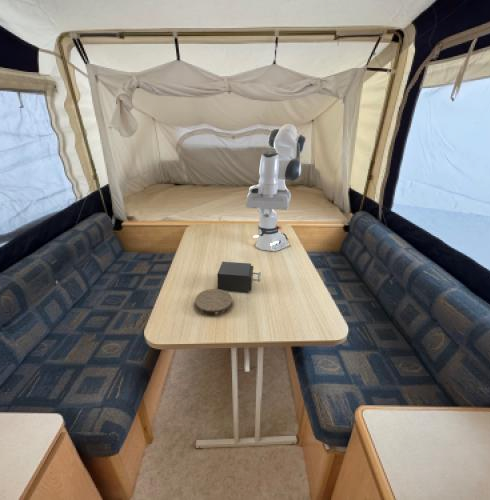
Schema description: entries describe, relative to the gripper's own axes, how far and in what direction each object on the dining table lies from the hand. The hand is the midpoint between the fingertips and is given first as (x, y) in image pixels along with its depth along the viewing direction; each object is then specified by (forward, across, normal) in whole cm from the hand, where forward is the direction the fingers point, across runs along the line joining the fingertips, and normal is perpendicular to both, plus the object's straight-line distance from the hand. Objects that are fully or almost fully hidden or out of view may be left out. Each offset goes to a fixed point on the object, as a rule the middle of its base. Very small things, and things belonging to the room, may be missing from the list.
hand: (266, 217), depth 129 cm
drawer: (+30, +10, +14) cm, 35 cm away
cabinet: (+31, +13, +14) cm, 37 cm away
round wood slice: (+31, +20, +32) cm, 49 cm away
